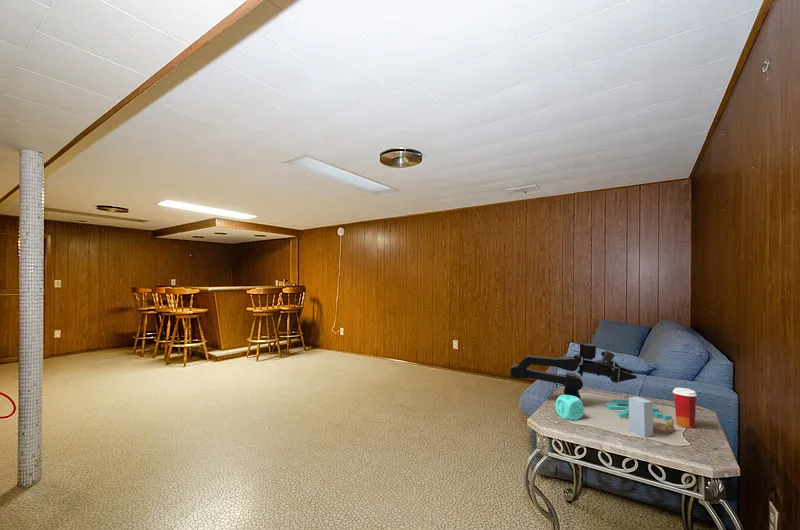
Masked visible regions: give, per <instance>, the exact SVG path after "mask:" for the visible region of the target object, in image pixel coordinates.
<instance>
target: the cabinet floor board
mask: <svg viewBox="0 0 800 530" xmlns="http://www.w3.org/2000/svg"><path fill="white" fill-rule="evenodd" d="M664 421H665V422H664V423H662V422H659V421H654V420H653V432H656V433H659V434H664V435H669V434H670V433H672V432H673V431H674V430H675V426H674V419H669V421H667V420H664Z"/></svg>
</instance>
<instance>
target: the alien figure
mask: <svg viewBox="0 0 800 530" xmlns="http://www.w3.org/2000/svg"><path fill="white" fill-rule="evenodd" d="M606 407H607V408H608V409H607V408H606ZM605 408H606V409H607V410H609V409H610V410H624V411H617V417H618V416H619V417H618V418H620V417H621V418H620V419H622V418H626V419H627V417H626V416H629V399H613V400H610V401H608V403H605ZM610 410H609V411H610ZM654 416H655V418H656V417H657V418H656V419H663V418H664V419H665V420H664V419H663V420H664V421H667V420H669V419H672V417H673V416H671V415H670V414H665V413H664V414H663V413H661V412H660V411H659V408H658V407H656V406H654V405H653V417H654Z"/></svg>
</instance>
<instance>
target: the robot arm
mask: <svg viewBox="0 0 800 530" xmlns="http://www.w3.org/2000/svg"><path fill="white" fill-rule="evenodd" d="M596 354H597V344H593V343H581V342H580V343H579V353H578V354H576V355H574V356H562V357H549V356H548V357H547V356H539V355H538V356H537V355H532V354H531V355H530V354H528V355H526V356H525V357H524V358H523V359H522V360H521V361H520V362H519V363H514V364H513V365H512V366H511V367H510V370H509V373H510V375H511V377H512V378H514V379H519V380H522V379H533V380H538V381H544V382H548V383H553V384H554V383H555V384H559V385H562V386H563V387H564V389H563V395H571V396H575V397H578V398H579V399H580V400H581V395H580V392H579V391H580V390H581V389H582V388H583V387H584V382H583V378H582V377H583V376H584V373H585V374H592V375H596V376H597V377H600V376H601V377H603V376H604V377H606V378H609V380H610V381H611V382H612V383H615V384H618V383H621V382H625V381H630V380H631V381H632V380H634V379H635V380H636V379H637V376H638V375H636V374H633V373H634V371H633V370H631V369H628V368H626V367H623V366H621V365H619V364H618V363H617V362H616V361H614V360H613V359H614V358H615V356H616V355H615V354H614V353H613V352H611V351H609V350H607V349H606V350H605V351H601V353H600V356H602V357H601V360H597V361H596V360H595V361H594V359H596ZM532 365H534V366H543V367H553V368H554V367H555V368H559V369H562V370H565V371H566V372H565V374H558V373H555V372H554V373H553V372H548V371H542V370H536V369H532V368H529V367H530V366H532ZM577 373H578V374H579V375H578V374H577ZM581 401H582V400H581Z"/></svg>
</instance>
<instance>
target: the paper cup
mask: <svg viewBox="0 0 800 530" xmlns="http://www.w3.org/2000/svg"><path fill="white" fill-rule="evenodd" d="M672 393H673V399H674V401H673V402H674V410H675V419H676V424H677V425H678V427H682V428H685V429H695V424H696V409H697V408H696V405H697V404H696V403H697V396H698V395H697V393H696V391H694V390H693V389H691V388H684V387H675V388H674V389H673V390H672Z"/></svg>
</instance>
